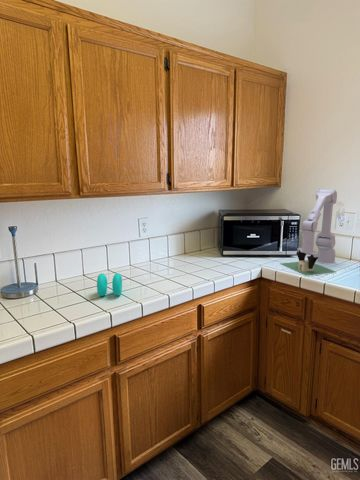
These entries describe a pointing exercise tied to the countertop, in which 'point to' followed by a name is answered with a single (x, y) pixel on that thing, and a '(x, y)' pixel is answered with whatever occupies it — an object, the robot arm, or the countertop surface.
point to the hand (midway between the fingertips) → (306, 266)
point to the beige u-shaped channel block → (304, 266)
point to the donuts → (103, 284)
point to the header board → (317, 270)
